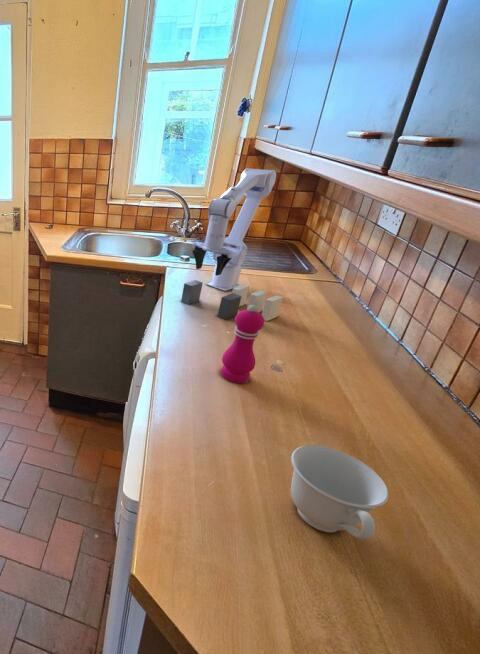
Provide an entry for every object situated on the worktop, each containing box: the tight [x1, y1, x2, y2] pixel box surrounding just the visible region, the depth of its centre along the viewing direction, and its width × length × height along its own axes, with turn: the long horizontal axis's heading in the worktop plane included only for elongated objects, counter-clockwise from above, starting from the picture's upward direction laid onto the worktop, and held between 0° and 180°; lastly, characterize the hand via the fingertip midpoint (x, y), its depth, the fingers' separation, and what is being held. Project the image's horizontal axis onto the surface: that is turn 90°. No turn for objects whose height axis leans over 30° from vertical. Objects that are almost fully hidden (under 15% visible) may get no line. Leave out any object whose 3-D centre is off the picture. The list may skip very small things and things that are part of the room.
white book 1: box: [246, 289, 268, 313], centre depth 134 cm, size 6×2×7 cm, turn 120°
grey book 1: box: [180, 279, 204, 305], centre depth 143 cm, size 6×3×7 cm, turn 120°
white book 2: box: [261, 294, 284, 322], centre depth 130 cm, size 6×2×7 cm, turn 120°
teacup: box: [290, 444, 390, 540], centre depth 64 cm, size 12×15×10 cm
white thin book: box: [231, 284, 250, 308], centre depth 139 cm, size 6×2×7 cm, turn 120°
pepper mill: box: [220, 305, 265, 384], centre depth 99 cm, size 7×7×20 cm
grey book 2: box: [216, 292, 242, 320], centre depth 132 cm, size 6×3×7 cm, turn 120°
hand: (208, 271), depth 145 cm, fingers open, 7 cm apart
